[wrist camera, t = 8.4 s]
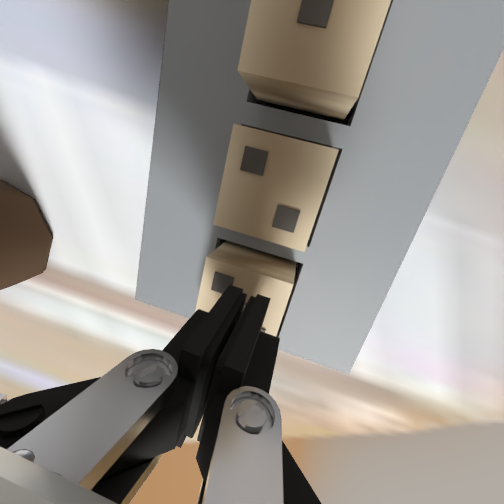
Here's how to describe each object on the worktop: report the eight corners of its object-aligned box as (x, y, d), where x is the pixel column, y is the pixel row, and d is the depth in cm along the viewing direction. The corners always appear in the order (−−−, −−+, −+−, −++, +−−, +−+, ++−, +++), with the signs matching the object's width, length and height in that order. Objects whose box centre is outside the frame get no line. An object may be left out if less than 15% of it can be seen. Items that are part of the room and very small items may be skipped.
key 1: (379, 10, 10) (417, -76, 7) (343, 120, 11) (359, 96, 8) (281, -8, 11) (268, -96, 7) (257, 99, 12) (236, 69, 8)
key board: (493, 19, 11) (533, -15, 9) (344, 351, 16) (348, 374, 14) (197, -34, 12) (176, -72, 10) (153, 286, 18) (135, 299, 16)
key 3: (297, 258, 14) (293, 285, 11) (277, 318, 16) (268, 359, 12) (229, 238, 15) (205, 257, 11) (215, 298, 16) (190, 331, 13)
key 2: (330, 156, 13) (339, 149, 9) (305, 233, 14) (304, 252, 10) (252, 136, 13) (232, 123, 10) (235, 212, 14) (212, 224, 11)
